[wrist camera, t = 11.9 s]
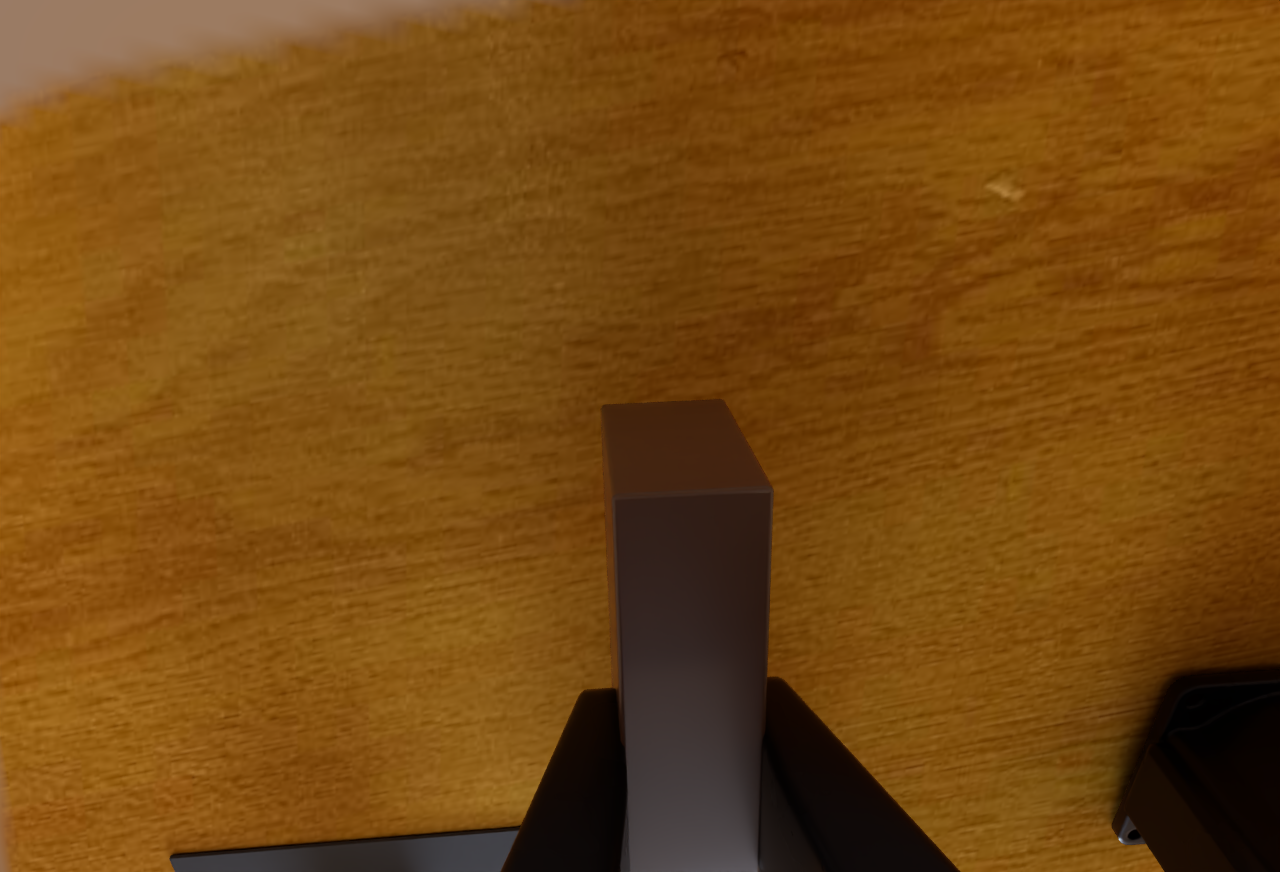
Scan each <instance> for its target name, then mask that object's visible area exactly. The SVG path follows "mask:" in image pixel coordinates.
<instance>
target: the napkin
mask: <svg viewBox="0 0 1280 872" xmlns="http://www.w3.org/2000/svg"><path fill="white" fill-rule="evenodd" d="M519 829H520V827H519V828H506V829H494V830H482V831H469V832H457V833H444V834H432V835H420V836H407V837H395V838H382V839H370V840H358V841H345V842H333V843H320V844H308V845H295V846H283V847H271V848H258V849H246V850H233V851H221V852H209V853H196V854H184V855H171V856H170V858H169V859H170V861H171V864H172V866H173V868H174V870H175V872H501V869H502V867H503V865H504V863H505V861H506V858H507V856H508V854H509V852H510V849H511V847H512V845H513V843H514V840H515V838H516V836H517V834H518V831H519Z"/></svg>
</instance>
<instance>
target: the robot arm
mask: <svg viewBox="0 0 1280 872" xmlns="http://www.w3.org/2000/svg"><path fill="white" fill-rule="evenodd" d="M1112 829H1113V830H1114V832H1115V834H1116V835H1117V837H1118V838H1119V840H1120V841H1121V843H1123V844H1125V845H1135V844H1147V846H1148V847H1149V849H1150V850H1151V852H1152V853H1153V855H1154V856H1155V858H1156V859H1157V861H1158V862H1159V864H1160V865H1161V867H1162V868H1163V870H1164V871H1165V872H1280V669H1275V670H1261V671H1247V672H1233V673H1219V674H1205V675H1191V676H1186V677H1183V678H1181V679H1178V680H1176V681H1175V682H1174V683H1173V684H1172V685H1171V686H1170V687H1169V689H1168V690H1167V692H1166V695H1165V697H1164V699H1163V702H1162V704H1161V707H1160V709H1159V711H1158V714H1157V716H1156V719H1155V721H1154V724H1153V726H1152V728H1151V731H1150V733H1149V736H1148V738H1147V740H1146V743H1145V745H1144V748H1143V750H1142V753H1141V755H1140V757H1139V760H1138V762H1137V765H1136V767H1135V769H1134V772H1133V774H1132V777H1131V779H1130V782H1129V784H1128V786H1127V789H1126V791H1125V794H1124V796H1123V798H1122V801H1121V803H1120V806H1119V808H1118V810H1117V813H1116V815H1115V818H1114V820H1113V823H1112ZM758 863H759V869H760V872H960V871H959V870H958V869H957V868H956V866H955V865H954V864H953V863H952V862H951V861H950V860H949V859H948V858H947V857H946V856H945V855H944V853H943V852H942V851H941V850H940V849H939V848H938V847H937V846H936V845H935V844H934V843H933V841H932V840H931V839H930V838H929V837H928V836H927V835H926V834H925V833H924V832H923V831H922V829H921V828H920V827H919V826H918V825H917V824H916V823H915V822H914V821H913V820H912V819H911V817H910V816H909V815H908V814H907V813H906V812H905V811H904V810H903V809H902V808H901V807H900V805H899V804H898V803H897V802H896V801H895V800H894V799H893V798H892V797H891V796H890V795H889V794H888V792H887V791H886V790H885V789H884V788H883V787H882V786H881V785H880V784H879V783H878V782H877V780H876V779H875V778H874V777H873V776H872V775H871V774H870V773H869V772H868V771H867V770H866V768H865V767H864V766H863V765H862V764H861V763H860V762H859V761H858V760H857V759H856V758H855V756H854V755H853V754H852V753H851V752H850V751H849V750H848V749H847V748H846V747H845V746H844V745H843V743H842V742H841V741H840V740H839V739H838V738H837V737H836V736H835V735H834V734H833V733H832V731H831V730H830V729H829V728H828V727H827V726H826V725H825V724H824V723H823V722H822V721H821V719H820V718H819V717H818V716H817V715H816V714H815V713H814V712H813V711H812V710H811V709H810V707H809V706H808V705H807V704H806V703H805V702H804V701H803V700H802V699H801V698H800V697H799V695H798V694H797V693H796V692H795V691H794V690H793V689H792V688H791V687H790V686H789V685H788V684H787V682H786V681H785V680H783V679H782V678H780V677H767V696H766V724H765V735H764V736H763V744H762V774H761V803H760V832H759V862H758ZM501 872H630V858H629V820H628V783H627V765H626V754H625V748H624V746H623V745H622V743H621V741H620V731H619V719H618V708H617V697H616V688H602V689H587V690H584V691H583V692H581V694H580V695H579V697H578V699H577V701H576V704H575V706H574V708H573V710H572V713H571V715H570V717H569V719H568V721H567V724H566V726H565V728H564V730H563V733H562V735H561V737H560V739H559V742H558V744H557V746H556V748H555V751H554V753H553V755H552V757H551V760H550V762H549V764H548V766H547V769H546V771H545V773H544V775H543V778H542V780H541V782H540V784H539V787H538V789H537V791H536V793H535V795H534V798H533V800H532V802H531V804H530V807H529V809H528V811H527V813H526V816H525V818H524V820H523V822H522V825H521V827H520V829H519V831H518V834H517V836H516V838H515V840H514V843H513V845H512V847H511V849H510V852H509V854H508V856H507V858H506V861H505V863H504V865H503V867H502V869H501Z"/></svg>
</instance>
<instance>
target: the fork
mask: <svg viewBox="0 0 1280 872" xmlns="http://www.w3.org/2000/svg"><path fill="white" fill-rule="evenodd" d="M601 432H602V456H603V480H604V504H605V528H606V552H607V576H608V600H609V624H610V648H611V672H612V688H616V697H617V708H618V719H619V731H620V741H621V743H622V745H623V746H624V748H625V754H626V765H627V783H628V820H629V858H630V872H760V869H759V863H758V862H759V832H760V803H761V774H762V744H763V736H764V735H765V724H766V696H767V667H768V638H769V610H770V581H771V553H772V524H773V495H774V490H773V488H772V486H771V484H770V482H769V480H768V479H767V477H766V475H765V473H764V471H763V470H762V468H761V466H760V464H759V462H758V461H757V459H756V457H755V455H754V453H753V452H752V450H751V448H750V446H749V444H748V443H747V441H746V439H745V437H744V435H743V434H742V432H741V430H740V428H739V426H738V425H737V423H736V421H735V419H734V417H733V416H732V414H731V412H730V410H729V408H728V407H727V405H726V403H725V401H724V400H722V399H713V400H692V401H671V402H650V403H628V404H607V405H603V406H602V407H601Z"/></svg>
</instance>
